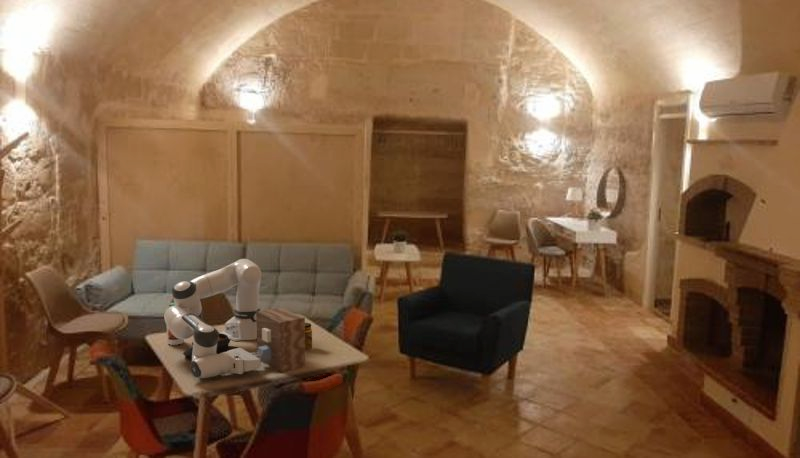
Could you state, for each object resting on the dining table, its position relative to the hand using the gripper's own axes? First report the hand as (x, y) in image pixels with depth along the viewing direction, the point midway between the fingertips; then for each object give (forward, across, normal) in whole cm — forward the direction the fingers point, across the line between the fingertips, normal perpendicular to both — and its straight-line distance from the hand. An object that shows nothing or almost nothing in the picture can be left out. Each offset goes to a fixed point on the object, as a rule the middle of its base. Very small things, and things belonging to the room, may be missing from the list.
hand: (260, 354), depth 272 cm
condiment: (+28, -11, -6) cm, 31 cm away
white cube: (+5, 0, +6) cm, 7 cm away
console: (+10, 0, -6) cm, 11 cm away
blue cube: (+3, 0, -2) cm, 3 cm away
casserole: (-10, -29, -6) cm, 31 cm away
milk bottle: (-17, -57, -6) cm, 59 cm away
